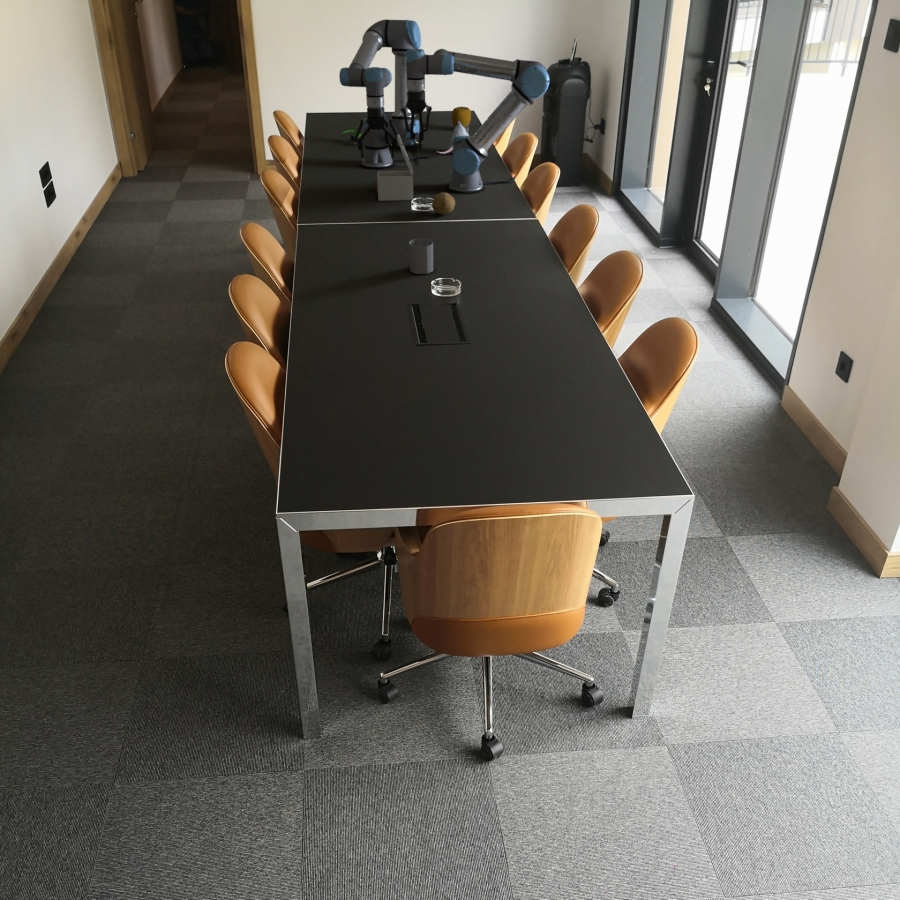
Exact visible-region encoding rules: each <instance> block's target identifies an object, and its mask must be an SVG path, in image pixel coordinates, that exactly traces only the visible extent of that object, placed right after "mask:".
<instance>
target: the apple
mask: <svg viewBox="0 0 900 900" xmlns="http://www.w3.org/2000/svg"><path fill="white" fill-rule="evenodd" d="M451 121H452V125H453V129H455V127H456V126H457V124H458V121H459V122H460V123H461V124H462V126H463V127H466V128H467V124H468V127H469V126H470V124H471V121H472V111H471V108H469V107H467V106H462V105H461V106H457V107H454V108H452V111H451Z"/></svg>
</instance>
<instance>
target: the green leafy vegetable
mask: <svg viewBox="0 0 900 900" xmlns="http://www.w3.org/2000/svg"><path fill="white" fill-rule="evenodd" d="M357 130H358V129H346V130H345V131H342V132H340V134H345V133H349V132H352V133H351V134H349V136H350V138H349V140H350V141H353V142H348V141H345V140H342V139H340V142H342V143H344V144H345V145H349V146H356V145H358V142H356V141H354V137H355V135H356V132H357ZM362 134H363V132H360V133H359V136H358V139H359V138H360V136H361V135H362ZM361 142H365V141H364V138H363V140H362V141H361Z"/></svg>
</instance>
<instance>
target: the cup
mask: <svg viewBox="0 0 900 900" xmlns="http://www.w3.org/2000/svg"><path fill="white" fill-rule="evenodd" d="M408 253H409V272H411V273H412V274H416V275H426V274H430V273H432V272H434V241H433V240H431V239H428V238H422V237H421V238H420V237H419V238H414V239H411V240H410V241H409V242H408Z"/></svg>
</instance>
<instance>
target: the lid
mask: <svg viewBox="0 0 900 900" xmlns="http://www.w3.org/2000/svg"><path fill="white" fill-rule="evenodd" d="M408 139H410V137H407V138H405V139H403V140H401V138H400V135H399V134H398V135H397V141H398V143H399V145H398V146H399V148H400V150H401V153H402V155H403V159H405V161H404V162H405V163H406V165H407V168H408V170H410V173H411V175H413V176H414V174H415V173H414V168H413V165H412V163H411V160H409V158H410V157H409V155H408V153H407V150H406V148H405V146H406V145H405V144H407V143H410V142H412V141H414V140H416V142H417V141H418V142H419V139H420V138H419V133H418V132H416V133H415V138H414V139H412V140H409V141H407V142H405V143H402V142H403V141H405V140H408Z"/></svg>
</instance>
